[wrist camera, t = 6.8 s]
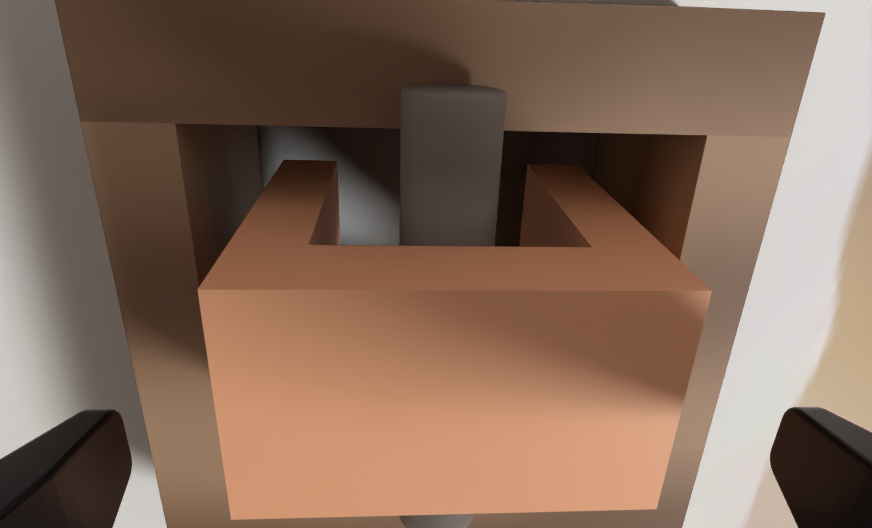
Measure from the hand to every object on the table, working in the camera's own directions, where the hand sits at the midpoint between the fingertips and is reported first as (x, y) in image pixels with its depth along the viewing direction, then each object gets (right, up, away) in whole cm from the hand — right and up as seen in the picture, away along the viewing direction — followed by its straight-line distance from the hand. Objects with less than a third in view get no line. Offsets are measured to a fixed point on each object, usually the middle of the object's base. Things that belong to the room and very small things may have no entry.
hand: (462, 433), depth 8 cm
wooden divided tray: (-1, +1, +9) cm, 10 cm away
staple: (-1, +3, +6) cm, 7 cm away
